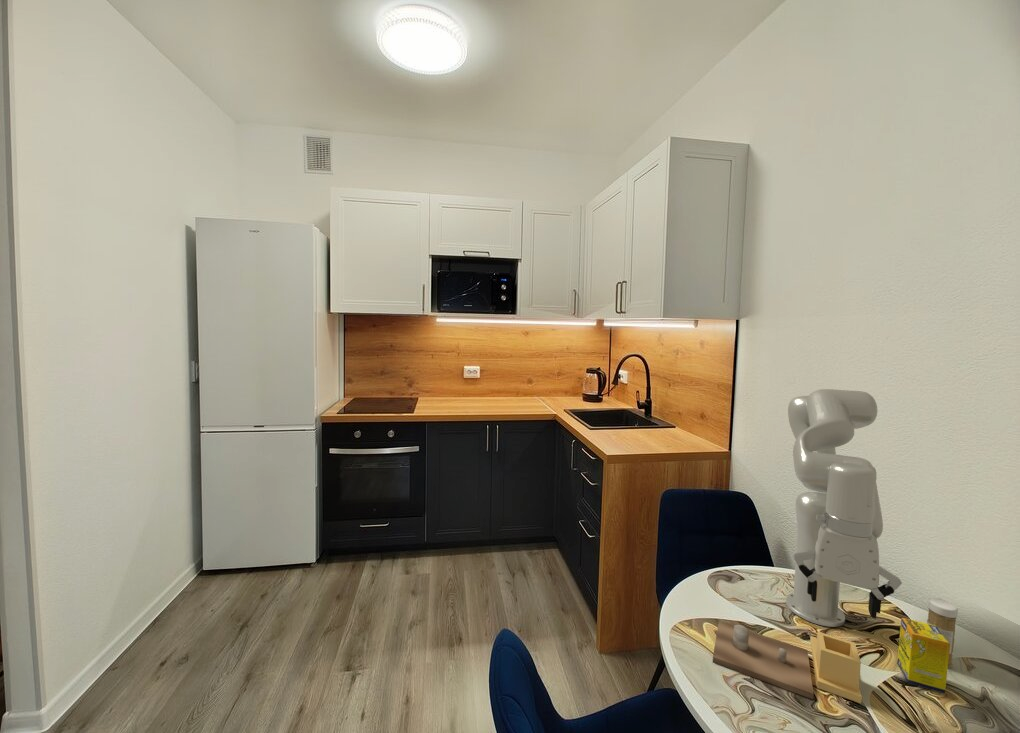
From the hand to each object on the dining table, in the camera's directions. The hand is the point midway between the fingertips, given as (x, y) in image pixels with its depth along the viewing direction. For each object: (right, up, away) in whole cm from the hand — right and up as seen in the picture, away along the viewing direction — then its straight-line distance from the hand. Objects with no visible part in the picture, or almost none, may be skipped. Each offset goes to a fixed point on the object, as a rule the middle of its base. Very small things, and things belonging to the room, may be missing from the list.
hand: (841, 606), depth 87 cm
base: (-13, -16, +7) cm, 21 cm away
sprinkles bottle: (+27, -17, +8) cm, 33 cm away
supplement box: (+19, -17, +3) cm, 25 cm away
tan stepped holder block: (+2, -16, +4) cm, 17 cm away
